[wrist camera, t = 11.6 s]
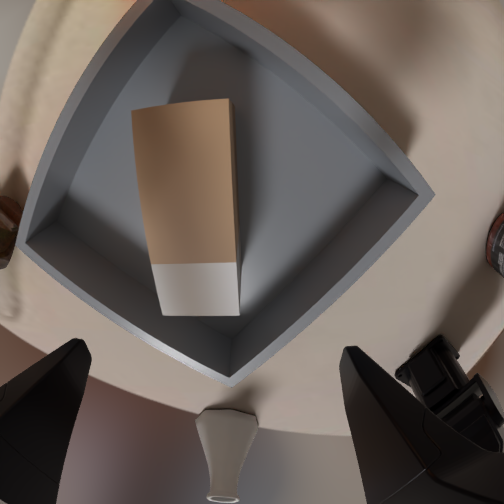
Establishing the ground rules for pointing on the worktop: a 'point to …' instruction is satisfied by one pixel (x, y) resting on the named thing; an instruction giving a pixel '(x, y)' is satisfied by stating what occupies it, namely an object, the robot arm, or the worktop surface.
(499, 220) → the supplement bottle
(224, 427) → the flask
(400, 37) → the worktop surface
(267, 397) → the worktop surface
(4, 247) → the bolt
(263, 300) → the bin
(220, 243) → the tan rectangular block
